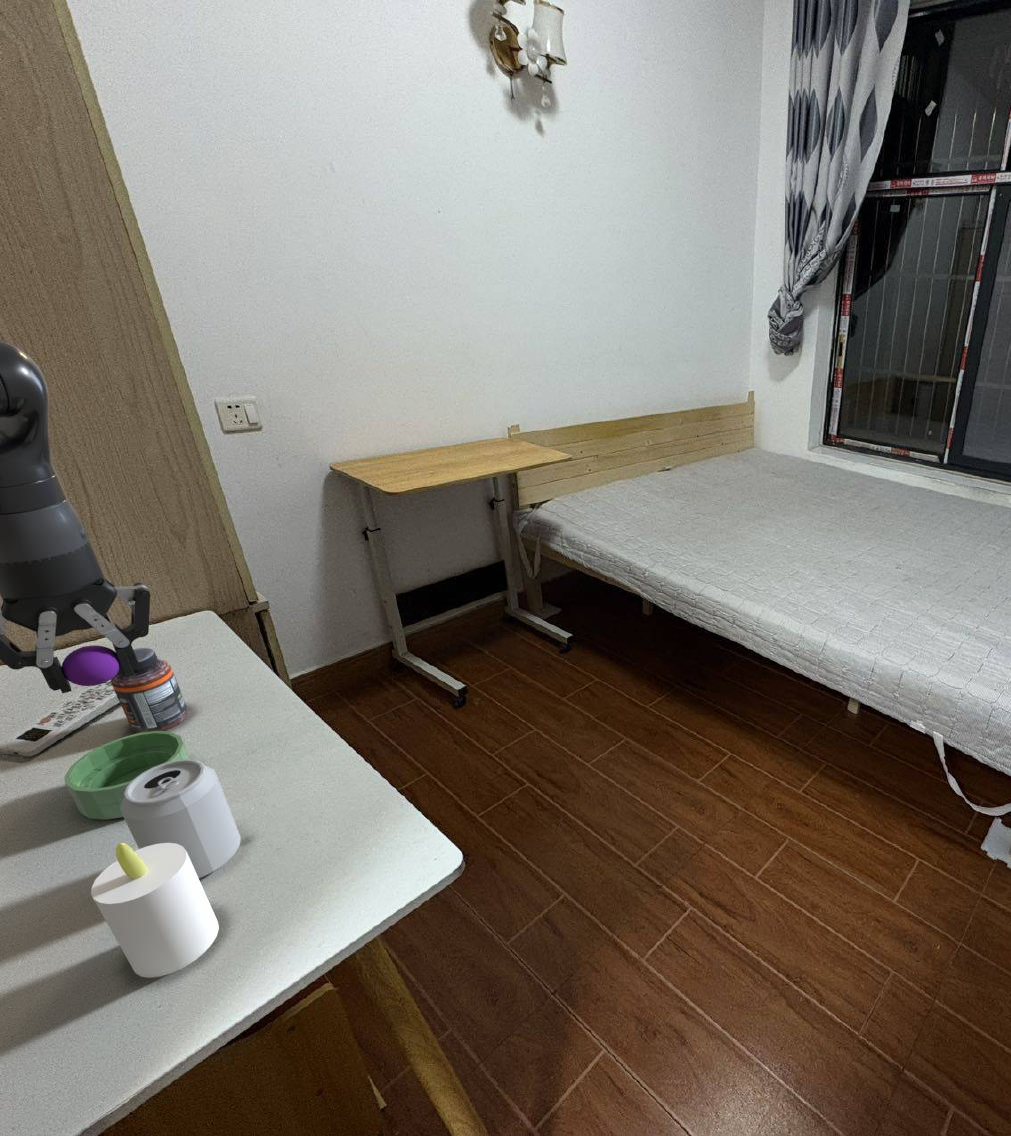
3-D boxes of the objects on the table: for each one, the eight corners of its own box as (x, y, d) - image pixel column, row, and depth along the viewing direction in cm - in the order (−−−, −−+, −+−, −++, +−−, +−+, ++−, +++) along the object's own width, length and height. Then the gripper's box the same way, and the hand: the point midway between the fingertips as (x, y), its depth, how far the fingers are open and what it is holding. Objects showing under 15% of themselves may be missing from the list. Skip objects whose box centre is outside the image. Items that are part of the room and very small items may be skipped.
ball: (58, 694, 69) (41, 660, 67) (92, 671, 73) (77, 637, 71) (106, 693, 69) (91, 659, 67) (137, 670, 73) (123, 637, 71)
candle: (222, 903, 64) (176, 796, 58) (216, 957, 59) (165, 847, 53) (139, 933, 61) (81, 823, 54) (126, 992, 56) (61, 880, 49)
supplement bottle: (126, 723, 86) (96, 655, 81) (181, 703, 90) (155, 638, 85) (140, 742, 83) (109, 673, 78) (196, 721, 87) (170, 654, 82)
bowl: (55, 826, 70) (37, 793, 68) (125, 761, 80) (111, 731, 78) (157, 821, 72) (142, 789, 70) (214, 759, 81) (203, 729, 79)
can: (224, 822, 73) (193, 743, 68) (256, 852, 70) (225, 772, 64) (141, 867, 67) (101, 784, 62) (172, 903, 64) (131, 819, 58)
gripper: (125, 519, 71) (174, 645, 78) (-74, 550, 61) (3, 691, 68) (135, 539, 66) (186, 670, 74) (-77, 576, 56) (5, 723, 64)
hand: (98, 679), depth 71 cm, fingers closed on ball, 4 cm apart
